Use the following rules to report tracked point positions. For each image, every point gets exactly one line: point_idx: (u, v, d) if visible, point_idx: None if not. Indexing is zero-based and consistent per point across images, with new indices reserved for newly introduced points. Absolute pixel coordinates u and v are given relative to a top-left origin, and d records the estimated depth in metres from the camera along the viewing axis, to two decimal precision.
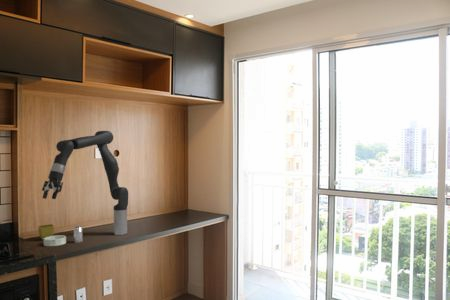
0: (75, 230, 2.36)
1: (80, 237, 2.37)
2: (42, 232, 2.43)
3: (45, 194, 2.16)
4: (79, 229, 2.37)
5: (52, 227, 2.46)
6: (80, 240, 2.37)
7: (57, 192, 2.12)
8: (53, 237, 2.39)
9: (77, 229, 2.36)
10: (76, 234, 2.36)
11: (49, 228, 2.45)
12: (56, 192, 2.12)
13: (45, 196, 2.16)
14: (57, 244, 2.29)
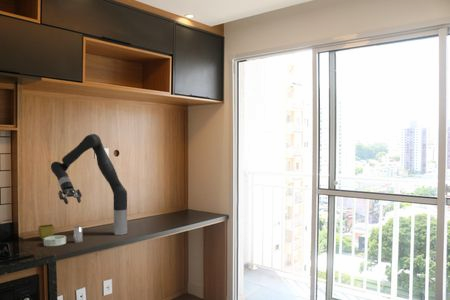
0: (75, 230, 2.36)
1: (80, 237, 2.37)
2: (42, 232, 2.43)
3: (77, 199, 2.50)
4: (79, 229, 2.37)
5: (52, 227, 2.46)
6: (80, 240, 2.37)
7: (63, 198, 2.43)
8: (53, 237, 2.39)
9: (77, 229, 2.36)
10: (76, 234, 2.36)
11: (49, 228, 2.45)
12: (63, 199, 2.43)
13: (78, 200, 2.49)
14: (57, 244, 2.29)
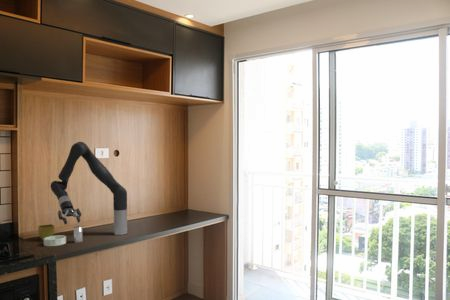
0: (75, 230, 2.36)
1: (80, 237, 2.37)
2: (42, 232, 2.43)
3: (77, 219, 2.48)
4: (79, 229, 2.37)
5: (52, 227, 2.46)
6: (80, 240, 2.37)
7: (62, 218, 2.42)
8: (53, 237, 2.39)
9: (77, 229, 2.36)
10: (76, 234, 2.36)
11: (49, 228, 2.45)
12: (62, 219, 2.42)
13: (78, 220, 2.48)
14: (57, 244, 2.29)
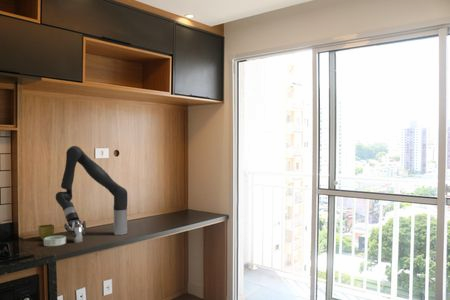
0: (75, 230, 2.36)
1: (80, 237, 2.37)
2: (42, 232, 2.43)
3: None
4: (79, 229, 2.37)
5: (52, 227, 2.46)
6: (80, 240, 2.37)
7: (71, 231, 2.36)
8: (53, 237, 2.39)
9: (77, 229, 2.36)
10: (76, 234, 2.36)
11: (49, 228, 2.45)
12: (71, 232, 2.36)
13: (82, 233, 2.40)
14: (57, 244, 2.29)
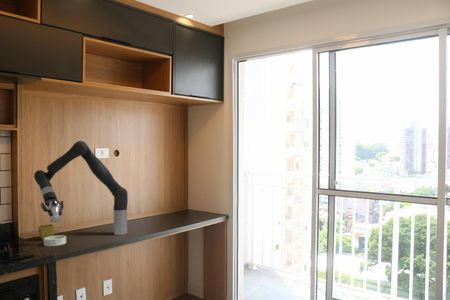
0: (52, 209, 2.32)
1: (57, 216, 2.33)
2: (42, 232, 2.43)
3: (59, 212, 2.36)
4: (56, 208, 2.32)
5: (52, 227, 2.46)
6: (57, 219, 2.33)
7: (47, 210, 2.32)
8: (53, 237, 2.39)
9: (54, 208, 2.32)
10: (52, 213, 2.32)
11: (49, 228, 2.45)
12: (47, 211, 2.32)
13: (59, 213, 2.35)
14: (57, 244, 2.29)
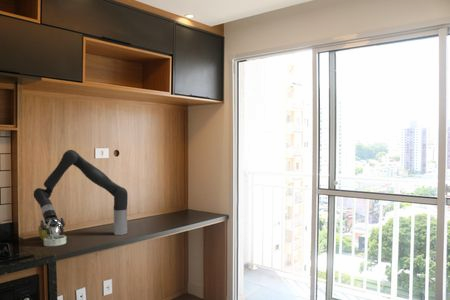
0: (51, 230, 2.32)
1: (57, 237, 2.33)
2: (42, 232, 2.43)
3: (60, 229, 2.37)
4: (56, 229, 2.32)
5: None
6: None
7: (45, 228, 2.31)
8: None
9: (53, 229, 2.32)
10: (52, 234, 2.31)
11: (49, 228, 2.45)
12: (45, 229, 2.31)
13: (61, 230, 2.36)
14: (57, 244, 2.29)
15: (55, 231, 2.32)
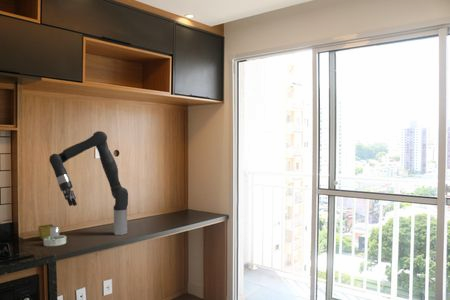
0: (51, 230, 2.32)
1: (57, 237, 2.33)
2: (42, 232, 2.43)
3: (73, 202, 2.44)
4: (56, 229, 2.32)
5: None
6: None
7: (69, 199, 2.35)
8: None
9: (53, 229, 2.32)
10: (52, 234, 2.32)
11: (49, 228, 2.45)
12: (68, 200, 2.35)
13: (74, 203, 2.44)
14: (57, 244, 2.29)
15: (55, 231, 2.32)
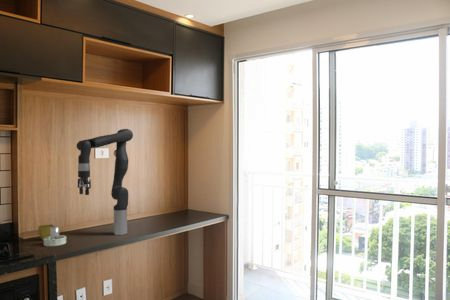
0: (51, 230, 2.32)
1: (57, 237, 2.33)
2: (42, 232, 2.43)
3: (81, 190, 2.47)
4: (56, 229, 2.32)
5: None
6: None
7: (88, 189, 2.41)
8: None
9: (53, 229, 2.32)
10: (52, 234, 2.31)
11: (49, 228, 2.45)
12: (87, 189, 2.41)
13: (81, 192, 2.47)
14: (57, 244, 2.29)
15: (55, 231, 2.32)
